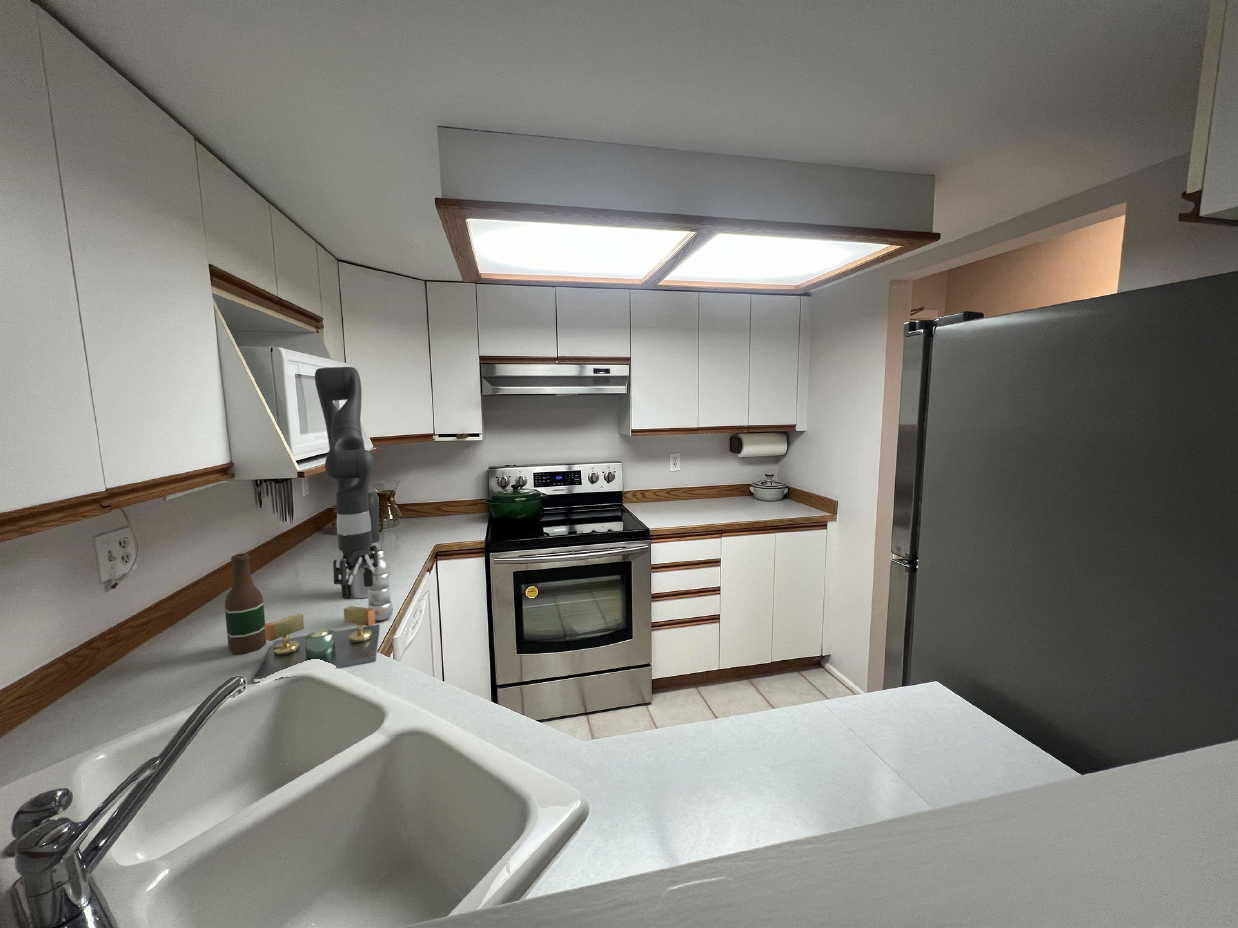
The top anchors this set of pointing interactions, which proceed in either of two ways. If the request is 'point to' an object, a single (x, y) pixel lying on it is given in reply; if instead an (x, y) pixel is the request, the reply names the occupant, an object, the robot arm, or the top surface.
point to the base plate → (338, 659)
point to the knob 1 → (284, 633)
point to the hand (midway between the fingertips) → (358, 592)
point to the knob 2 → (359, 622)
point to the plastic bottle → (380, 589)
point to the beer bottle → (244, 610)
